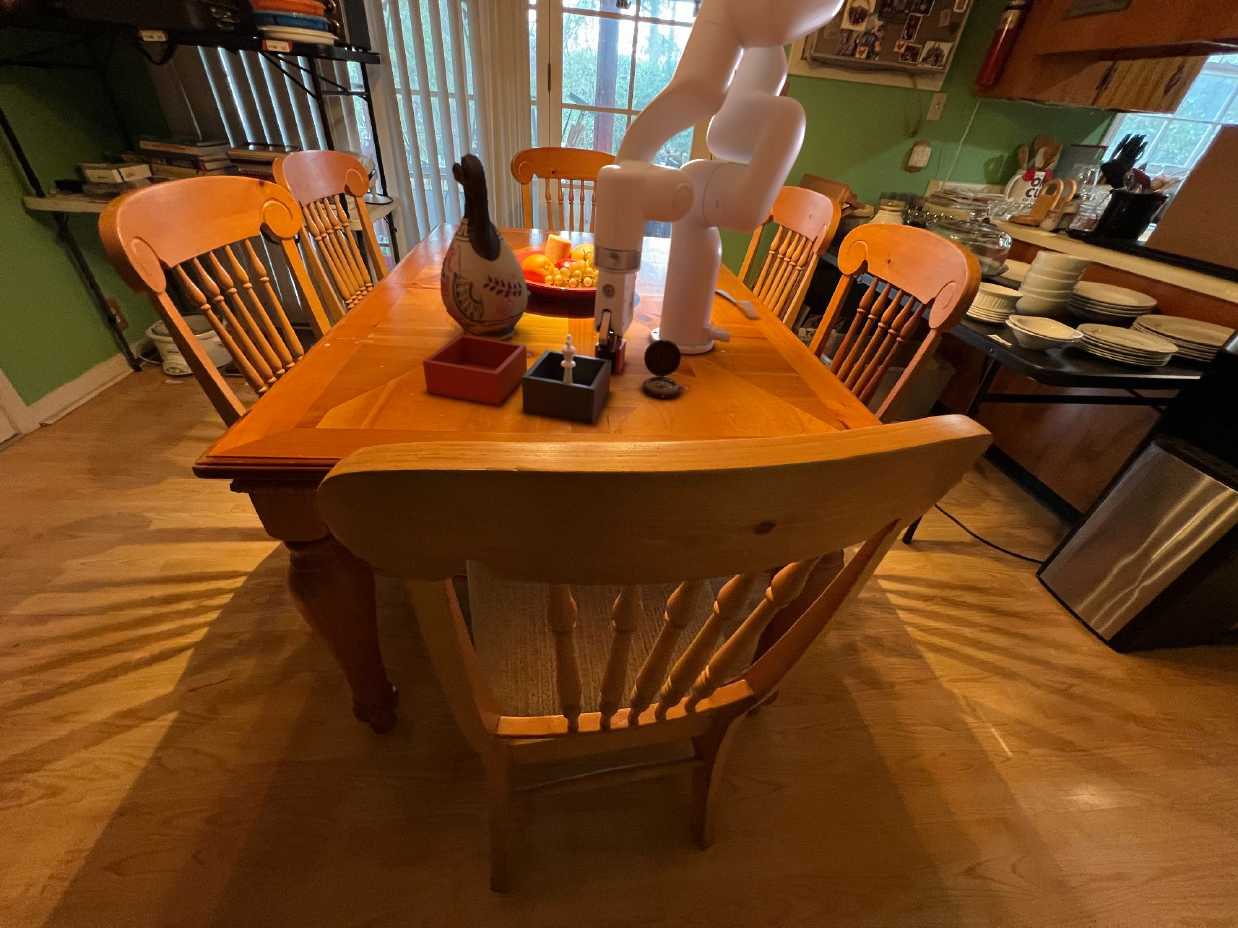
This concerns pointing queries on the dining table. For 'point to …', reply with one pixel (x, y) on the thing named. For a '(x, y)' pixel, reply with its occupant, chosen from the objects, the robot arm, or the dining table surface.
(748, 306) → the fork
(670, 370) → the compass
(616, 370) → the red block
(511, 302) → the ceramic jug
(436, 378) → the red bin
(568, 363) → the chess piece
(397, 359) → the dining table surface
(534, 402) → the charcoal bin
